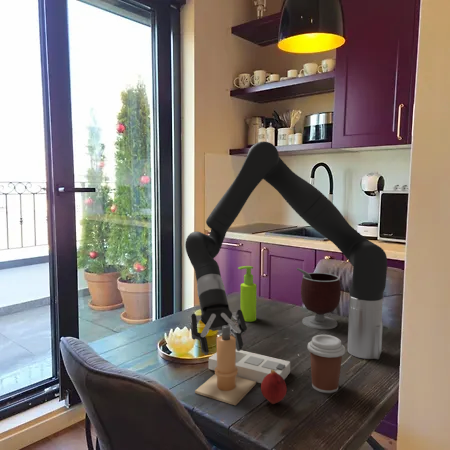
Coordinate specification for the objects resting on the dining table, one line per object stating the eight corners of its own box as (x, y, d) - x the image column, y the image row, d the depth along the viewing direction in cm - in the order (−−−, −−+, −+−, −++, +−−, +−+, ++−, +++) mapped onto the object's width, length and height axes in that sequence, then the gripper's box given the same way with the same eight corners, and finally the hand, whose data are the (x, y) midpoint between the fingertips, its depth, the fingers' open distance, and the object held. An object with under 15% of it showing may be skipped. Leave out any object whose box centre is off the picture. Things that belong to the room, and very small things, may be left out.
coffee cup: (339, 400, 91) (341, 350, 89) (301, 389, 95) (302, 342, 94) (347, 382, 99) (349, 337, 97) (312, 374, 103) (313, 330, 102)
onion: (283, 396, 92) (284, 363, 91) (288, 410, 86) (289, 376, 86) (259, 396, 92) (259, 364, 91) (262, 410, 86) (262, 376, 85)
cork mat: (255, 384, 98) (255, 381, 98) (235, 405, 88) (235, 403, 88) (217, 373, 103) (217, 371, 103) (195, 392, 93) (195, 390, 93)
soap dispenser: (235, 317, 146) (235, 265, 144) (252, 315, 149) (253, 264, 146) (240, 322, 141) (241, 268, 139) (258, 320, 143) (259, 267, 141)
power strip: (290, 372, 104) (290, 360, 103) (277, 387, 96) (278, 374, 96) (224, 356, 113) (224, 345, 113) (208, 369, 106) (208, 357, 105)
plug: (241, 383, 97) (241, 325, 95) (230, 394, 92) (230, 332, 90) (222, 378, 99) (221, 321, 98) (210, 388, 95) (210, 328, 93)
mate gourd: (336, 317, 147) (338, 265, 145) (342, 331, 133) (344, 273, 131) (295, 315, 149) (296, 264, 147) (296, 328, 135) (297, 272, 133)
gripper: (188, 289, 102) (197, 349, 92) (239, 285, 106) (254, 342, 96) (184, 303, 108) (193, 360, 98) (233, 299, 112) (246, 354, 102)
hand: (223, 351), depth 97 cm, fingers open, 8 cm apart
